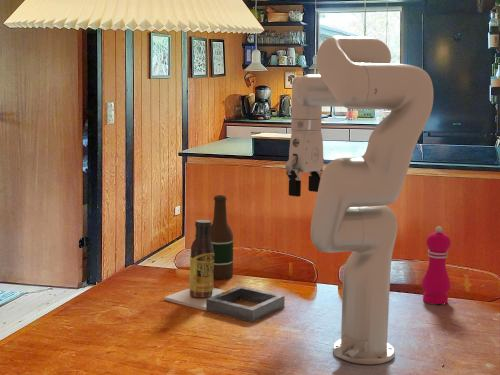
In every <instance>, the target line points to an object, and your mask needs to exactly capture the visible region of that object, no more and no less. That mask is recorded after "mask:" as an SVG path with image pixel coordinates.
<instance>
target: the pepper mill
mask: <svg viewBox="0 0 500 375" xmlns="http://www.w3.org/2000/svg"><path fill="white" fill-rule="evenodd" d="M425 243H426V246H427V248H428V250H427V256H428V258H429V259H428V260H429V261H428V266H427V269H426V271H425V273H424V275H423V278H422V280H421V287H422V290H423V291H424V292H423V293H422V294H423V295H422V301H423V302H424V303H426V304H428V303H430V304H429V305H433V304H444V303H446V304H448V303H449V295H447V294H448V292H449V291H450V290H451V281H450V280H451V279H450V277H449V274H448V271H447V268H446V259H447V258H448V254H449V251H448V250H449V249H450V247H451V238H450V237H449V235H448V234H446V233H444V232H443V227H442V226H440V225H439V226H436V227H435V231H434V232H431V233H430V234H429V235H428V236H427V238H426V242H425ZM444 305H445V304H444Z"/></svg>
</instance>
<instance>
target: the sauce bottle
mask: <svg viewBox="0 0 500 375" xmlns="http://www.w3.org/2000/svg"><path fill="white" fill-rule="evenodd" d="M211 225H212V221H211V220H209V219H197V220H195V224H194V226H195V236H194V238H195V239H194V240H193V241H192V244H191V246H190V256H189V281H188V282H189V283H188V285H189V286H188V288H189V289H190V292H189V293H190V296H192V297H194V298H207V297H210V296H212V290H213V288H214V279H213V274H214V250H213V245H212V242H211V239H210V227H211Z"/></svg>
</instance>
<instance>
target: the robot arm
mask: <svg viewBox="0 0 500 375" xmlns="http://www.w3.org/2000/svg"><path fill="white" fill-rule="evenodd" d="M315 61H316V70H317V73H318V74H304V75H300V76H298V75H297V76H295V77H294V78H293V79H292V82H291V120H290V124H291V125H290V132H291V136H290V141H289V150H288V152H289V153H288V155H289V156H288V160H287V161H286V162H285V164H284V166H285V170H286V172H285V174H286V176H287V180H288V195H289V196H291V197H298V198H299V197H301V195H302V194H301V193H302V192H301V190H302V180H300V178H301V176H302V174H303V172H304V173H309V175H308V188H307V190H308V192H314V193H316V199H315V202H314V207H313V210H312V211H313V212H312V216H311V222H310V238H311V243H312V244H313V246H314V247H315V248H316V249H317V250H318V251H320V252H322V253H332V254H333V253H347V252H348V253H349V252H351V253H350V255H349V256H348V258H347V260H346V262H345V264H344V268H343V275H342V295H341V296H342V298H341V299H342V300H341V301H342V302H341V303H342V304H341V326H340V327H341V329H340V339H338V340H336V341H335V342H334V343H333V346H332V347H333V348H332V350H333V354H334V356H335V357H337V358H338V359H339V358H340V359H341V360H343V361H346V362H350V363H353V364H357V365H358V364H359V365H379V364H384V363H385V364H386V363H387V362H389V361H392V360H393V359H394V357H395V348H394V346H393V345H391V344H390V343H388V333H389V312H390V311H389V310H390V308H389V307H390V292H391V291H390V289H391V288H390V287H391V271H392V269H391V268H392V258H393V253H394V248H395V243H396V239H397V235H398V229H399V228H398V227H399V226H398V217H397V216H396V213H395V212H394V211H393V209H391V208H390V207H389V206H388V205H391V204H394V203H395V202H396V201H397V200H398V198H399V197H400V196H401V193H402V191H403V187H404V184H405V180H406V177H407V174H408V171H409V167H410V164H411V161H412V157H413V153H414V150H415V148H416V145H417V143H418V141H419V138H420V136H421V134H422V133H423V131H424V130H425V127H426V125H427V123H428V120H429V118H430V116H431V113H432V110H433V104H434V86H433V81H432V78H431V77H430V75H429V74H428V72H427V71H426V70H424V69H423V68H421V67H419V66H416V65H412V64H405V63H391V62H392V55H391V51H390V48H389V47H388V45H387V44H386V43H385V42H384V41H382V40H380V39H378V38H375V37H368V36H348V35H347V36H343V35H334V36H329V37H327V38H326V39H325V40H323V41H322V43H321V44H320V46H319V47H318V50H317V54H316V60H315ZM323 107H336V108H337V107H338V108H340V107H341V108H346V109H349V110H358V111H359V110H379V111H380V110H390V113H388V115H386V116H385V117H384V118H383V119H381V121H380V122H379V123H378V124H377V125H376V126H375V127H374V129H373V131H372V132H371V133H370V136H369V139H368V142H367V147H366V149H365V152H364V154H363V155H361V156H359V157H340V158H335V159H333V160H331V161H330V162H329V163H327V164H326V166H325V167H324V162H325V158H324V139H323V134H322V118H323V115H322V114H323V113H322V112H323V111H322V110H323ZM322 170H323V171H322Z"/></svg>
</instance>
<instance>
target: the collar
mask: <svg viewBox="0 0 500 375" xmlns="http://www.w3.org/2000/svg"><path fill="white" fill-rule="evenodd" d="M285 298H286V297H285V295H284V294H279V293H274V292H269V291H265V290H260V289H257V288H256V289H255V288H251V287H247V286H241V285H238V286H235V287H233V288H230V289H227V290H225V291H224V292H222V293H220V294H218V295H215V296H213V297H210V298H208V299H206V310H205V311H206V312H210V313H214V314H218V315H222V316H225V317H230V318H232V319H233V318H234V319H236V320H241V321H245V322H249V323H254V322H257V321H259V320H261V319H264V318H265V317H267V316H270V315H272V314H274V313H275V312H278V311H280V310H281V309H284V308H285V302H286V301H285V300H286V299H285ZM240 300H243V301H245V302H246V301H247V302H250V303H251V302H252V303H256V305H254V306H247V305H243V304H238V303H235V302H237V301H240Z"/></svg>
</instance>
